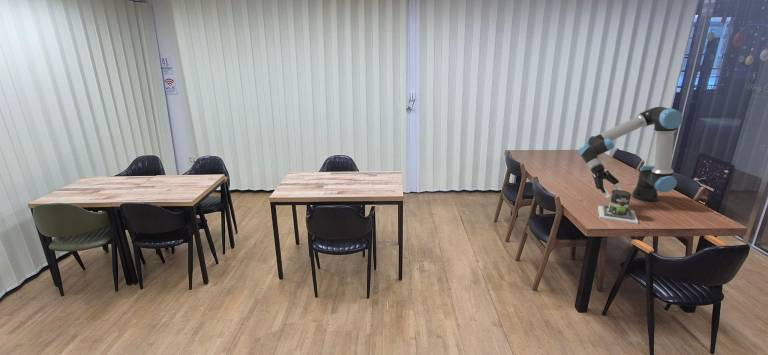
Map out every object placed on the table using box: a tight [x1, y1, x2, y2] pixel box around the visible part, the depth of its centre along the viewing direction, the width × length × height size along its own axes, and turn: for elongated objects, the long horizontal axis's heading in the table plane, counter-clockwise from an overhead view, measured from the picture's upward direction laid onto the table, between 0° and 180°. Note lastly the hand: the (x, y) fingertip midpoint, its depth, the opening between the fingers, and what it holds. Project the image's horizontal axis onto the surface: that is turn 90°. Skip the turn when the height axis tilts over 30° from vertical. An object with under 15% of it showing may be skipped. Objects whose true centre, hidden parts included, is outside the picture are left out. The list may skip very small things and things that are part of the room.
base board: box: [597, 205, 639, 225], centre depth 227 cm, size 20×20×2 cm
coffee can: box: [608, 189, 632, 216], centre depth 225 cm, size 10×10×14 cm
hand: (615, 195), depth 226 cm, fingers open, 13 cm apart
